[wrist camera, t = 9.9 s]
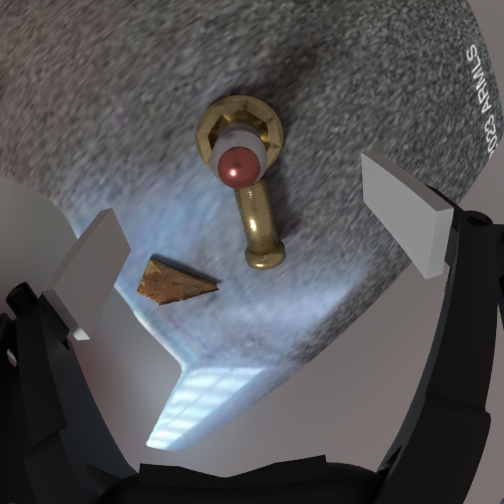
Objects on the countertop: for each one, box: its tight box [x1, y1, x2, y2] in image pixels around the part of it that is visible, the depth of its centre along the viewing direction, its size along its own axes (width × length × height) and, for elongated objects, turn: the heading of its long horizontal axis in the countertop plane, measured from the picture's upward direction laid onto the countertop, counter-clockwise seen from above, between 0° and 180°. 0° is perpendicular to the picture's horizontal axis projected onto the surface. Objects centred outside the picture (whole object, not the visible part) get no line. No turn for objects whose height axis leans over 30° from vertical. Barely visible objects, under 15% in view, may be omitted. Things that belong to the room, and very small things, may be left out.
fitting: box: [196, 95, 286, 270], centre depth 31 cm, size 20×10×5 cm, turn 12°
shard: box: [137, 258, 219, 305], centre depth 42 cm, size 11×8×2 cm
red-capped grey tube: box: [210, 118, 268, 189], centre depth 25 cm, size 4×4×12 cm
